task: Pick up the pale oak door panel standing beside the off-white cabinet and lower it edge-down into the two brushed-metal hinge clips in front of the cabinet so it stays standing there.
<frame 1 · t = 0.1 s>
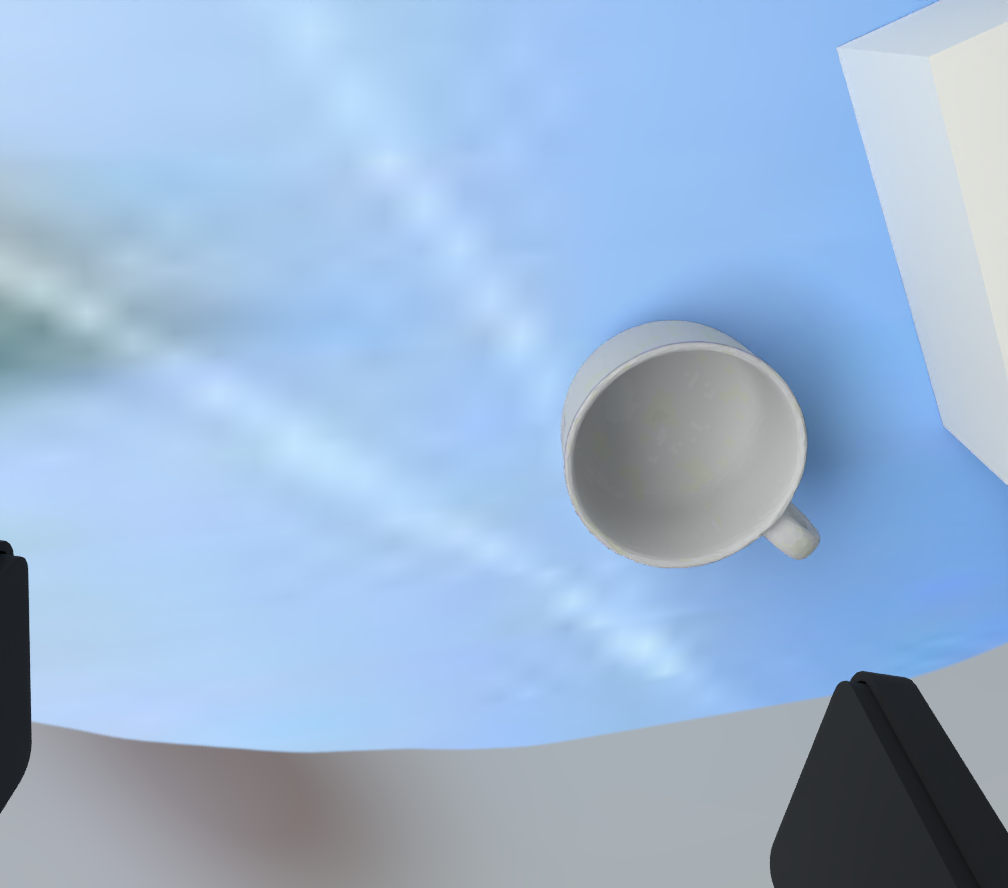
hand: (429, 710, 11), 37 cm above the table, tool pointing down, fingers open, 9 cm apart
teacup: (677, 417, 50), on the table
cabinet: (986, 213, 46), on the table
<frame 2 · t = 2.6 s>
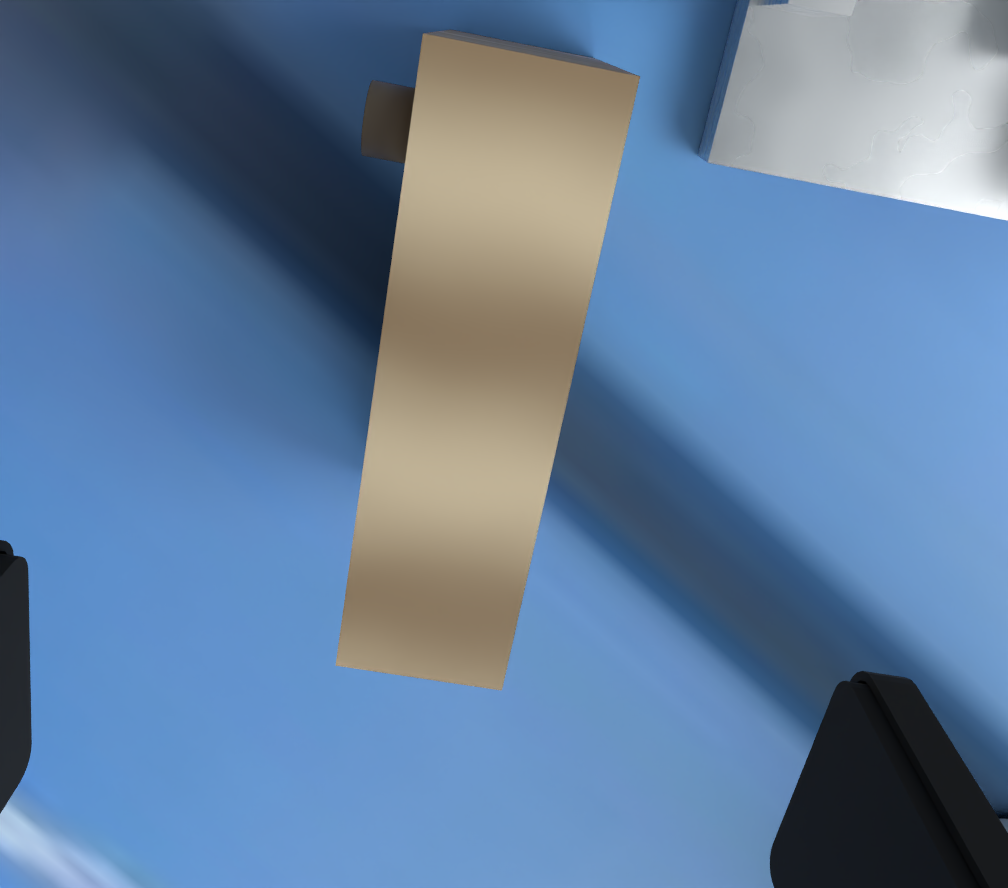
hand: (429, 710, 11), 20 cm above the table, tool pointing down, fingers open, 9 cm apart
door: (479, 288, 29), on the table
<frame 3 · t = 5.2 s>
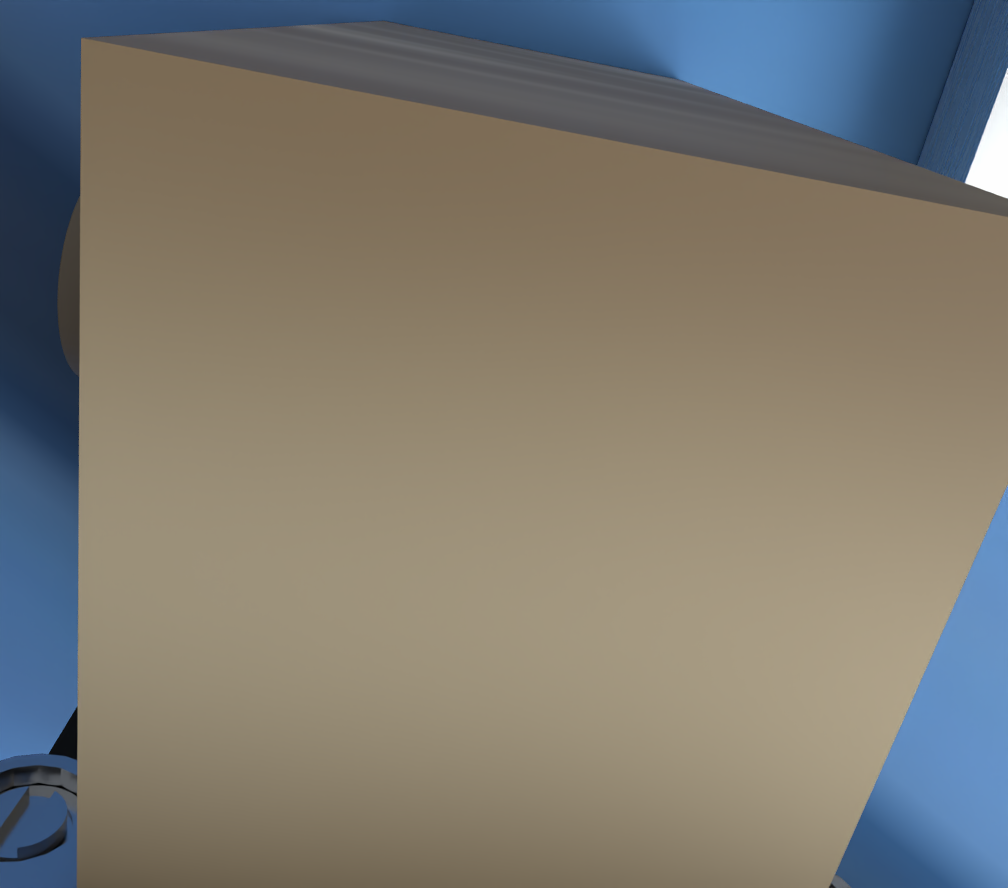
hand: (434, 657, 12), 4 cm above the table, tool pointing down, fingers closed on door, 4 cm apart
door: (449, 510, 16), on the table, touching gripper
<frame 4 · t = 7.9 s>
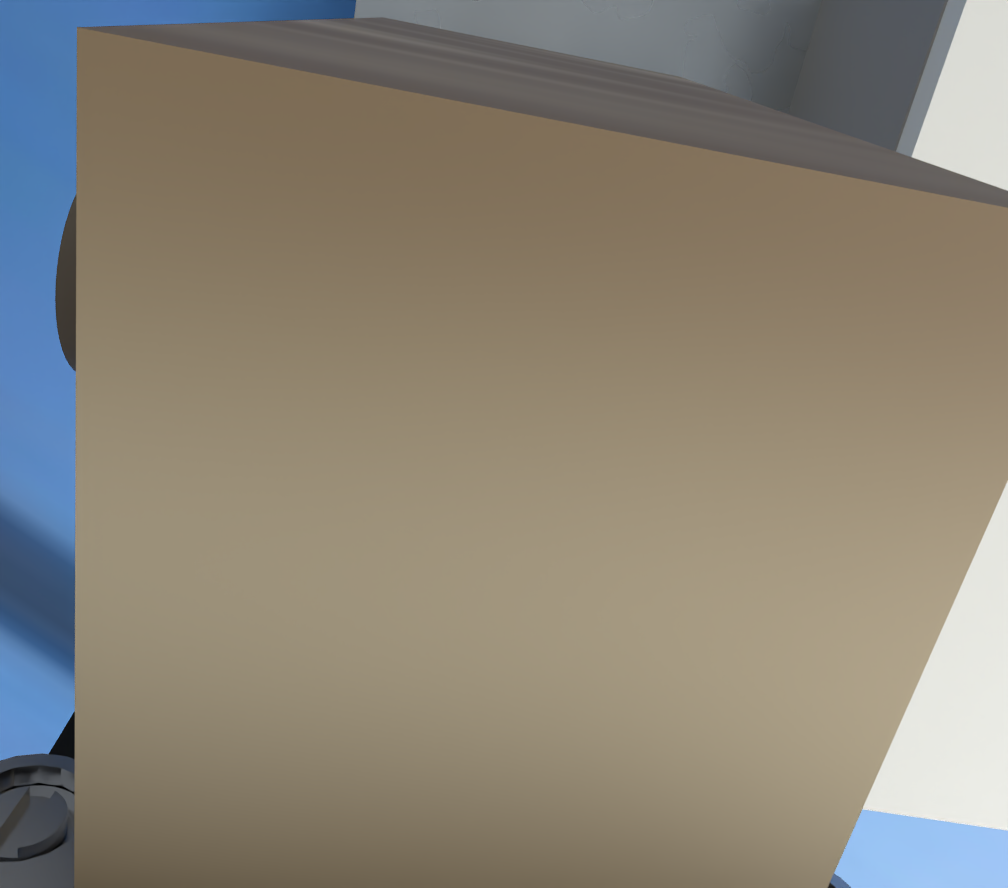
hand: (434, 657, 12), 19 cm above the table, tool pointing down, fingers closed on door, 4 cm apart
hinge clips: (481, 264, 29), on the table
cabinet: (854, 334, 30), on the table
door: (449, 508, 16), point 15 cm above the table, touching gripper
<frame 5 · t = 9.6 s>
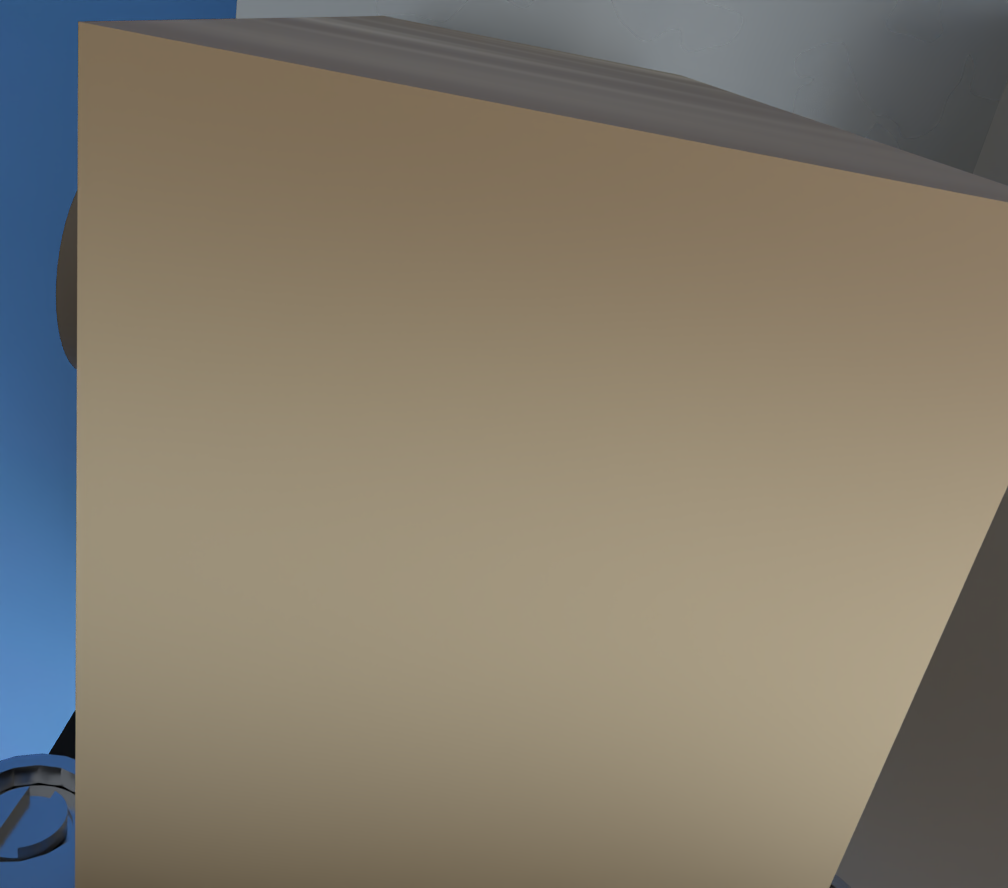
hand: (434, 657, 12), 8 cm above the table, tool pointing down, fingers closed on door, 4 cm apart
hinge clips: (459, 425, 19), on the table
door: (449, 507, 16), point 4 cm above the table, touching gripper
when the fingers open (6 cm above the table, at t = 10.9 s): door stays where it is, resting on hinge clips.
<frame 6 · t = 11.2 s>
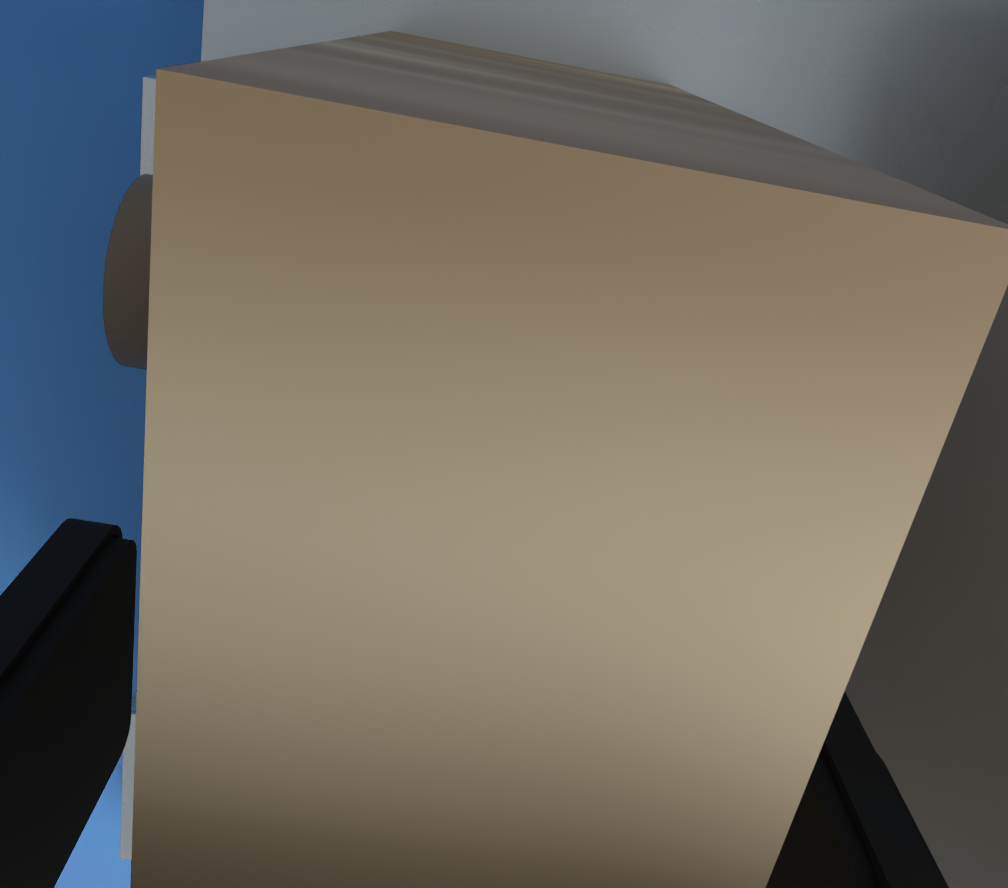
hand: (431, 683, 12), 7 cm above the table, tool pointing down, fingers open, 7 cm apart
hinge clips: (454, 453, 18), on the table
door: (454, 497, 16), point 1 cm above the table, touching hinge clips
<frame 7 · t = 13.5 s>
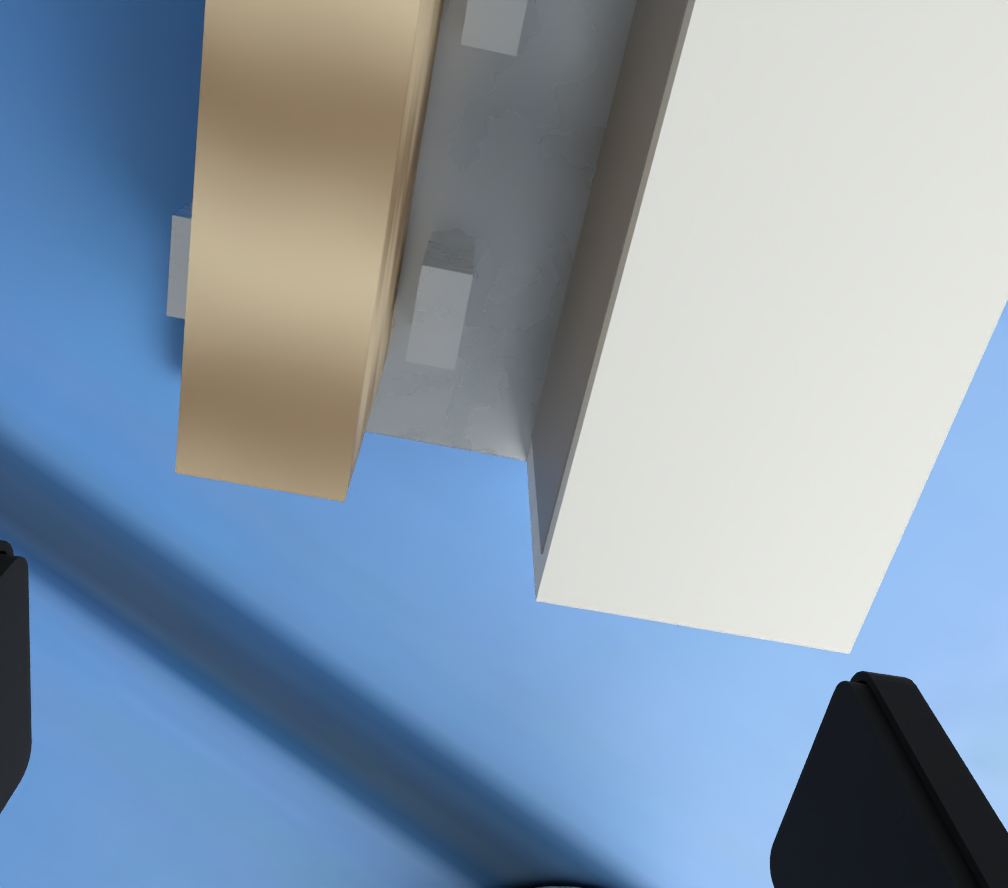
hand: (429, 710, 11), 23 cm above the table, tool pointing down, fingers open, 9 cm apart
hinge clips: (359, 117, 30), on the table
cabinet: (725, 195, 31), on the table
door: (355, 128, 29), point 1 cm above the table, touching hinge clips
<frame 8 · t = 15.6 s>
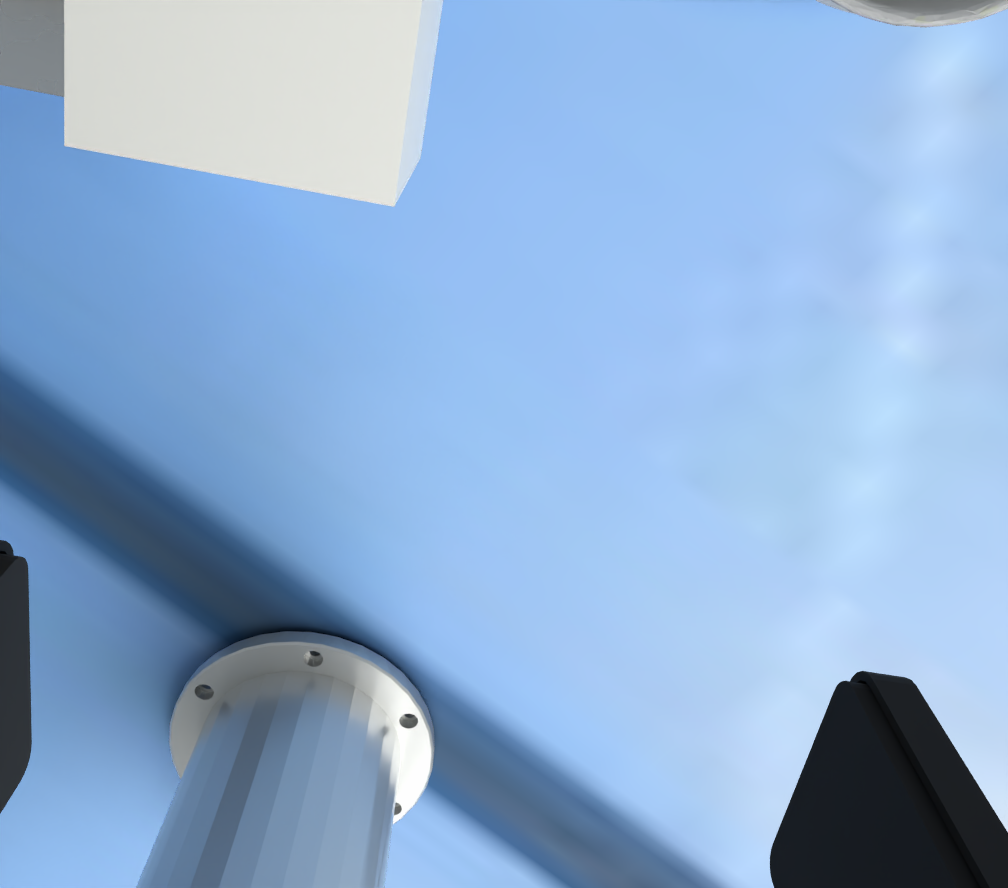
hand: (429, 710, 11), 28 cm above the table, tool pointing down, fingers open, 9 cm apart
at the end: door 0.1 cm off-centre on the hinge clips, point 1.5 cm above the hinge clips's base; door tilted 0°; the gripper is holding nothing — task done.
